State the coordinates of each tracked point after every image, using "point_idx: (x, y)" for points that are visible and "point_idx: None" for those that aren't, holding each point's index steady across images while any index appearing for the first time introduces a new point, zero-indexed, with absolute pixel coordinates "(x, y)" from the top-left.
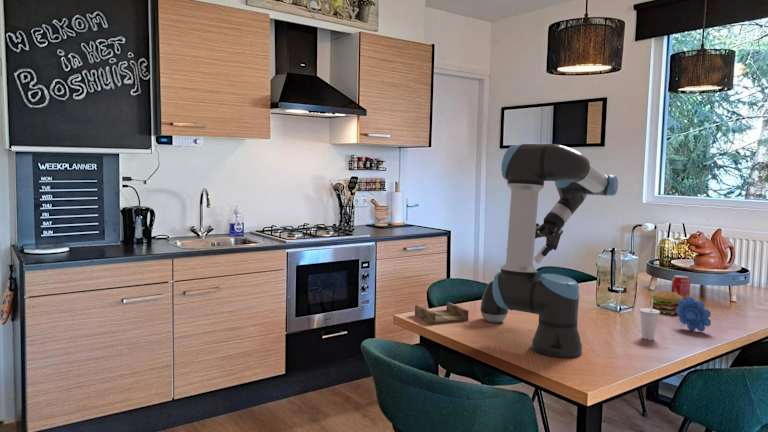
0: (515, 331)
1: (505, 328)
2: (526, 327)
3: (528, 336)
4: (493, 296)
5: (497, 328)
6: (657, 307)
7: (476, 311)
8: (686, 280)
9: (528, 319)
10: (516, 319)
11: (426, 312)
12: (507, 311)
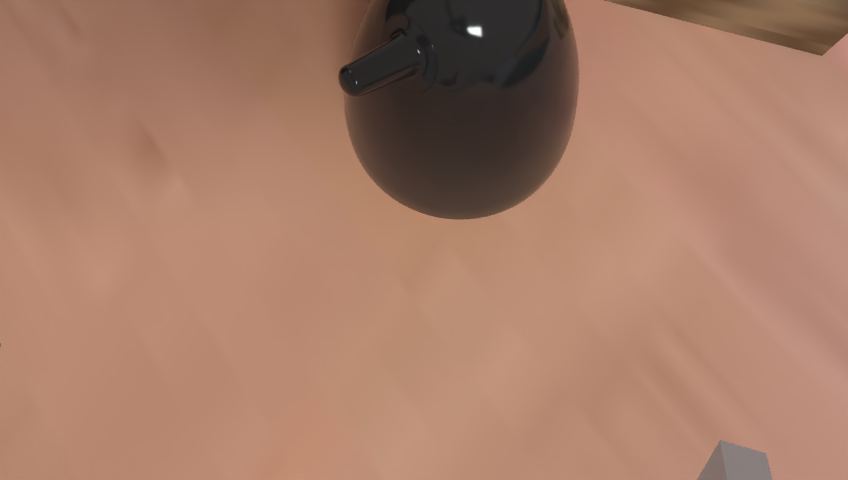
0: (192, 48)
1: (279, 51)
2: (198, 188)
3: (71, 24)
4: None
5: (313, 9)
6: None
7: (727, 247)
8: None
9: (318, 393)
10: (377, 312)
11: None
12: (351, 140)
